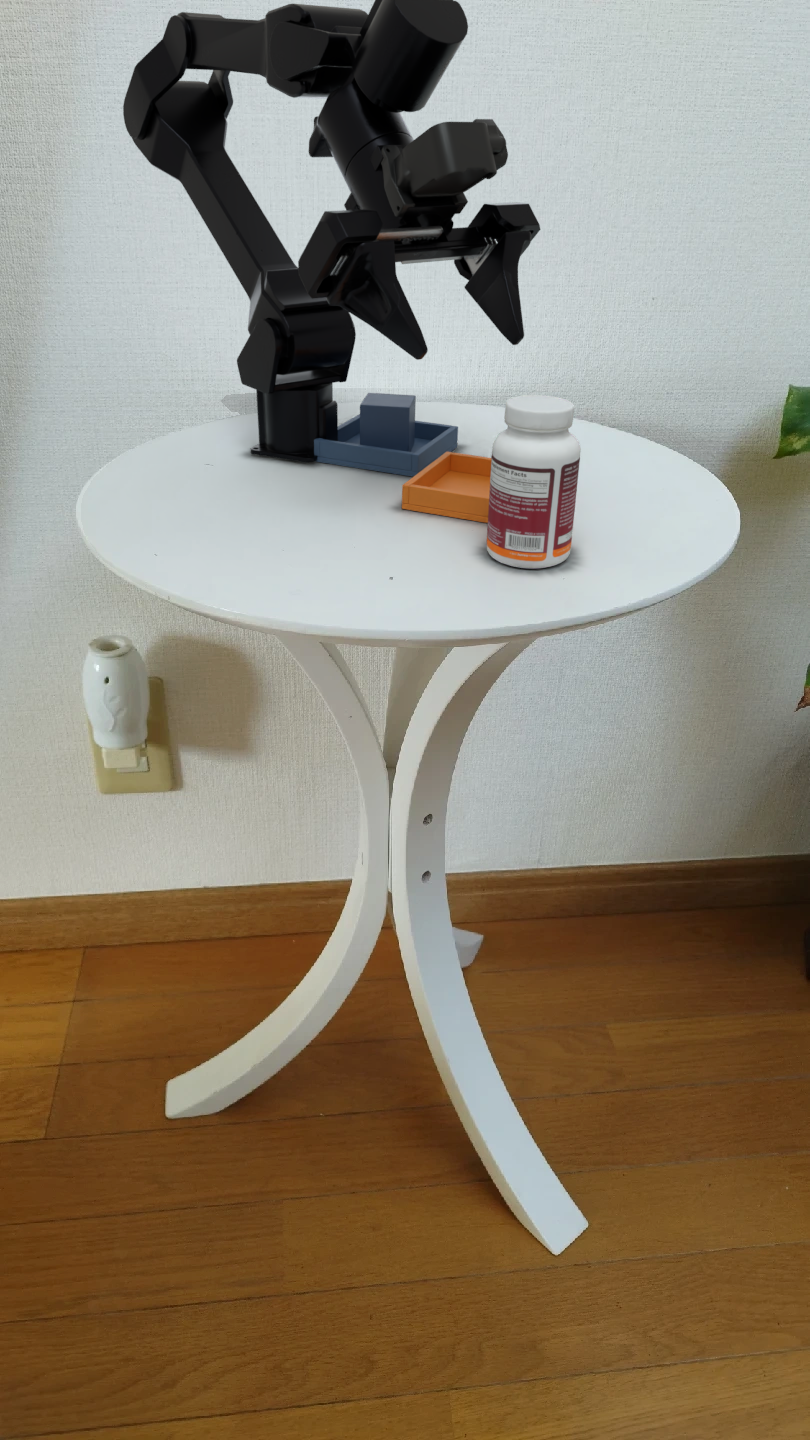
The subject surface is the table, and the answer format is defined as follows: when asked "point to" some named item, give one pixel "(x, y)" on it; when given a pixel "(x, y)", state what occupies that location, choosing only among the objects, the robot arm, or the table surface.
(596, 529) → the table surface
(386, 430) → the slate block
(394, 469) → the slate tray
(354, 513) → the table surface
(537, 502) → the pill bottle
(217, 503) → the table surface
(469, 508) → the amber tray
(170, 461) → the table surface
